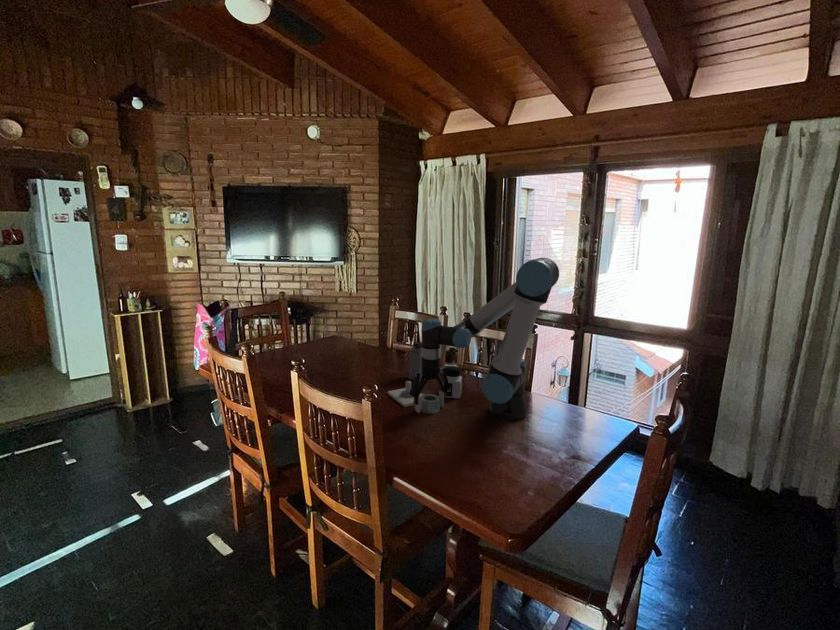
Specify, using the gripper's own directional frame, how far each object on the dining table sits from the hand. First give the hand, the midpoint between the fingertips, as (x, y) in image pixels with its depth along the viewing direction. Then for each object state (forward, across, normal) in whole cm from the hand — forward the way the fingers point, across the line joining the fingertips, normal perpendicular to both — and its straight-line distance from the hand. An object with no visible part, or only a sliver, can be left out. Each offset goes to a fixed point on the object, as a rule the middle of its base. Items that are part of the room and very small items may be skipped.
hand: (429, 408), depth 180 cm
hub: (0, 0, 0) cm, 0 cm away
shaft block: (0, +2, -15) cm, 15 cm away
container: (0, -17, -9) cm, 19 cm away
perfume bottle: (0, -14, -34) cm, 37 cm away
